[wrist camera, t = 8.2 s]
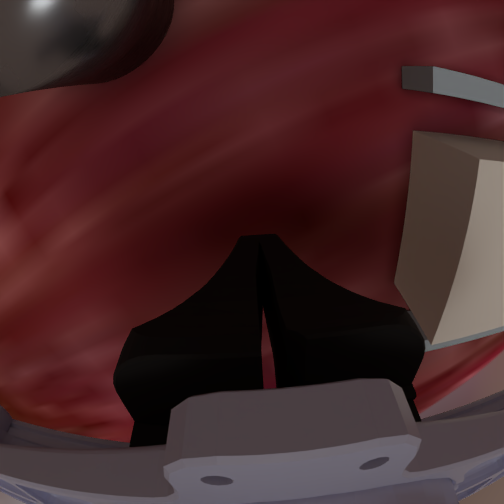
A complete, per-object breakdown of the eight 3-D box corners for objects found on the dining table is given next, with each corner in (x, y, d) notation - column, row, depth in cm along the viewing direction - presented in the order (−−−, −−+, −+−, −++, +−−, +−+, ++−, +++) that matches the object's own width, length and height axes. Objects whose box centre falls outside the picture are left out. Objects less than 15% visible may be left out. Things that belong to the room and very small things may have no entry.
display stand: (515, 300, 17) (536, 325, 15) (373, 328, 18) (389, 366, 15) (560, 110, 10) (594, 123, 8) (401, 66, 11) (440, 66, 8)
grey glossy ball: (179, 67, 11) (128, 55, 5) (49, 99, 11) (-46, 124, 5) (171, -58, 8) (129, -129, 2) (44, -16, 8) (-42, -39, 2)
